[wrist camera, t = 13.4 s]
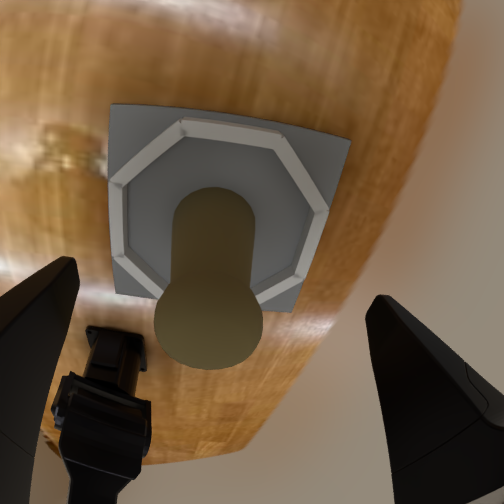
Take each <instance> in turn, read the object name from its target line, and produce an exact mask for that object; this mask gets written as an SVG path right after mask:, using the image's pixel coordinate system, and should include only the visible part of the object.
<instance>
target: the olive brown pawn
mask: <svg viewBox="0 0 504 504" xmlns="http://www.w3.org/2000/svg"><path fill="white" fill-rule="evenodd" d="M254 239H255V216H254V213H253V210H252V208H251V206H250V205H249V204H248V203H247V201H246V200H245V199H244V198H243V197H242V196H240V195H239V194H237V193H235V192H233V191H232V190H229V189H224V188H220V187H208V188H202V189H199V190H196V191H194V192H191V193H190V194H189V195H187V196H186V197H185V198H184V199H182V200H181V201H180V203H179V205H178V206H177V208H176V209H175V211H174V216H173V222H172V240H171V273H170V284H168V286H167V288H166V289H165V291H164V292H163V294H162V295H161V297H160V298H159V300H158V302H157V305H156V309H155V316H154V329H155V333H156V336H157V339H158V341H159V343H160V345H161V347H162V349H163V350H164V351H165V352H166V353H167V354H168V355H169V356H170V357H171V358H173V359H174V360H176V361H177V362H179V363H181V364H184V365H187V366H189V367H192V368H198V369H205V370H213V369H223V368H228V367H232V366H234V365H237V364H239V363H241V362H243V361H244V360H245V359H247V358H248V357H249V356H250V355H251V354H252V353H253V351H254V350H255V348H256V347H257V345H258V343H259V341H260V339H261V335H262V330H263V316H262V310H261V307H260V305H259V303H258V301H257V299H256V297H255V295H254V293H253V291H252V290H251V289H250V281H251V270H252V260H253V249H254Z"/></svg>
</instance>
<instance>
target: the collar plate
mask: <svg viewBox="0 0 504 504" xmlns="http://www.w3.org/2000/svg"><path fill="white" fill-rule="evenodd" d="M350 144H351V140H349V139H347V138H343V137H340V136H336V135H332V134H328V133H324V132H320V131H316V130H312V129H308V128H304V127H299V126H295V125H290V124H286V123H281V122H276V121H271V120H265V119H260V118H255V117H249V116H243V115H237V114H230V113H223V112H216V111H208V110H200V109H191V108H182V107H171V106H158V105H141V104H114V103H113V104H111V107H110V121H109V140H108V209H109V229H110V244H111V256H112V266H113V276H114V284H115V292H116V294H123V295H129V296H136V297H143V298H151V299H158V300H159V298H160V297H161V295H162V294H163V292H164V291H165V289H166V288H167V286H168V284H170V273H171V240H172V222H173V216H174V211H175V209H176V208H177V206H178V205H179V203H180V201H181V200H182V199H184V198H185V197H186V196H187V195H189V194H190V193H191V192H194V191H196V190H199V189H202V188H208V187H220V188H224V189H229V190H232V191H233V192H235V193H237V194H239V195H240V196H242V197H243V198H244V199H245V200H246V201H247V203H248V204H249V205H250V206H251V208H252V210H253V213H254V216H255V239H254V249H253V260H252V270H251V281H250V289H251V290H252V291H253V293H254V295H255V297H256V299H257V301H258V303H259V305H260V307H261V310H262V311H275V312H289V313H291V312H292V310H293V307H294V305H295V302H296V300H297V297H298V295H299V292H300V289H301V287H302V284H303V282H304V279H305V278H306V275H307V273H308V270H309V267H310V265H311V262H312V259H313V257H314V254H315V251H316V248H317V246H318V243H319V240H320V237H321V234H322V232H323V229H324V226H325V223H326V220H327V217H328V214H329V209H330V206H331V203H332V200H333V197H334V194H335V191H336V188H337V185H338V182H339V179H340V176H341V173H342V170H343V167H344V163H345V160H346V157H347V154H348V150H349V147H350Z"/></svg>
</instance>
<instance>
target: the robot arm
mask: <svg viewBox="0 0 504 504" xmlns="http://www.w3.org/2000/svg"><path fill="white" fill-rule="evenodd" d="M79 286H80V279H79V274H78V269H77V263H76V260H75V259H74V258H73V257H67V256H61V257H59V258H58V259H56V260H55V261H53V262H51V263H50V264H48V265H47V266H45V267H44V268H42V269H40V270H39V271H37V272H36V273H34V274H33V275H31V276H30V277H28V278H27V279H25V280H24V281H22V282H21V283H19V284H18V285H16V286H15V287H13V288H12V289H11V290H9V291H8V292H6V293H5V294H3V295H2V296H1V297H0V504H29V497H30V487H31V480H32V471H33V465H34V457H35V452H36V446H37V441H38V436H39V431H40V426H41V422H42V417H43V413H44V409H45V405H46V401H47V397H48V393H49V390H50V386H51V383H52V379H53V376H54V372H55V369H56V366H57V363H58V359H59V356H60V353H61V350H62V347H63V344H64V341H65V338H66V335H67V332H68V328H69V324H70V320H71V316H72V313H73V309H74V305H75V301H76V298H77V294H78V291H79ZM365 321H366V327H367V335H368V342H369V349H370V356H371V362H372V367H373V372H374V377H375V381H376V385H377V391H378V396H379V401H380V406H381V411H382V415H383V422H384V427H385V433H386V439H387V445H388V452H389V459H390V466H391V473H392V483H393V492H394V502H395V504H504V395H503V394H502V393H500V392H499V391H498V390H497V389H495V387H493V386H492V385H491V384H490V383H488V382H487V381H486V380H485V379H484V378H483V377H482V376H481V375H479V374H478V373H477V372H476V371H475V370H474V369H473V368H472V367H471V366H469V364H467V363H466V362H464V360H463V359H462V358H461V357H460V356H459V355H457V354H456V353H455V352H454V351H453V350H452V349H451V348H450V347H449V346H448V345H446V344H445V343H444V342H443V341H442V340H441V339H440V338H439V337H438V336H436V335H435V334H434V333H433V332H432V331H431V330H430V329H428V328H427V327H426V326H425V325H424V324H423V323H421V322H420V321H419V320H418V319H417V318H416V317H414V316H413V315H412V314H411V313H410V312H409V311H407V310H406V309H405V308H404V307H403V306H401V305H400V304H399V303H398V302H397V301H396V300H394V299H393V298H392V297H391V296H389V295H377V296H376V298H375V299H374V301H373V302H372V304H371V306H370V307H369V309H368V311H367V313H366V317H365ZM85 332H86V335H87V338H88V342H89V345H90V348H91V351H90V354H89V357H88V360H87V364H86V367H85V370H84V374H83V377H81V376H79V375H76V374H75V373H74V372H72V371H70V373H69V376H68V375H67V376H62V379H61V382H60V385H59V388H58V391H57V393H56V396H55V398H54V401H53V404H52V406H51V412H52V414H53V416H54V421H55V426H54V428H55V429H58V430H60V431H61V434H60V439H59V452H60V455H61V457H62V460H63V463H64V465H65V468H66V471H67V473H68V476H69V478H70V481H69V488H68V496H67V503H66V504H117V495H118V493H119V492H120V491H121V490H122V489H123V488H124V487H125V486H126V485H127V484H128V483H129V482H130V481H131V480H134V479H136V477H137V476H138V475H139V474H140V472H141V464H142V458H144V457H145V456H146V455H147V453H148V450H149V447H150V443H151V435H152V426H151V401H148V400H142V399H139V398H136V397H135V391H136V385H137V380H138V374H139V371H142V372H145V371H147V362H146V354H145V345H144V338H143V337H142V336H141V335H137V334H130V333H124V332H118V331H112V330H106V329H101V328H95V327H90V326H88V327H87V328H86V330H85Z"/></svg>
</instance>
